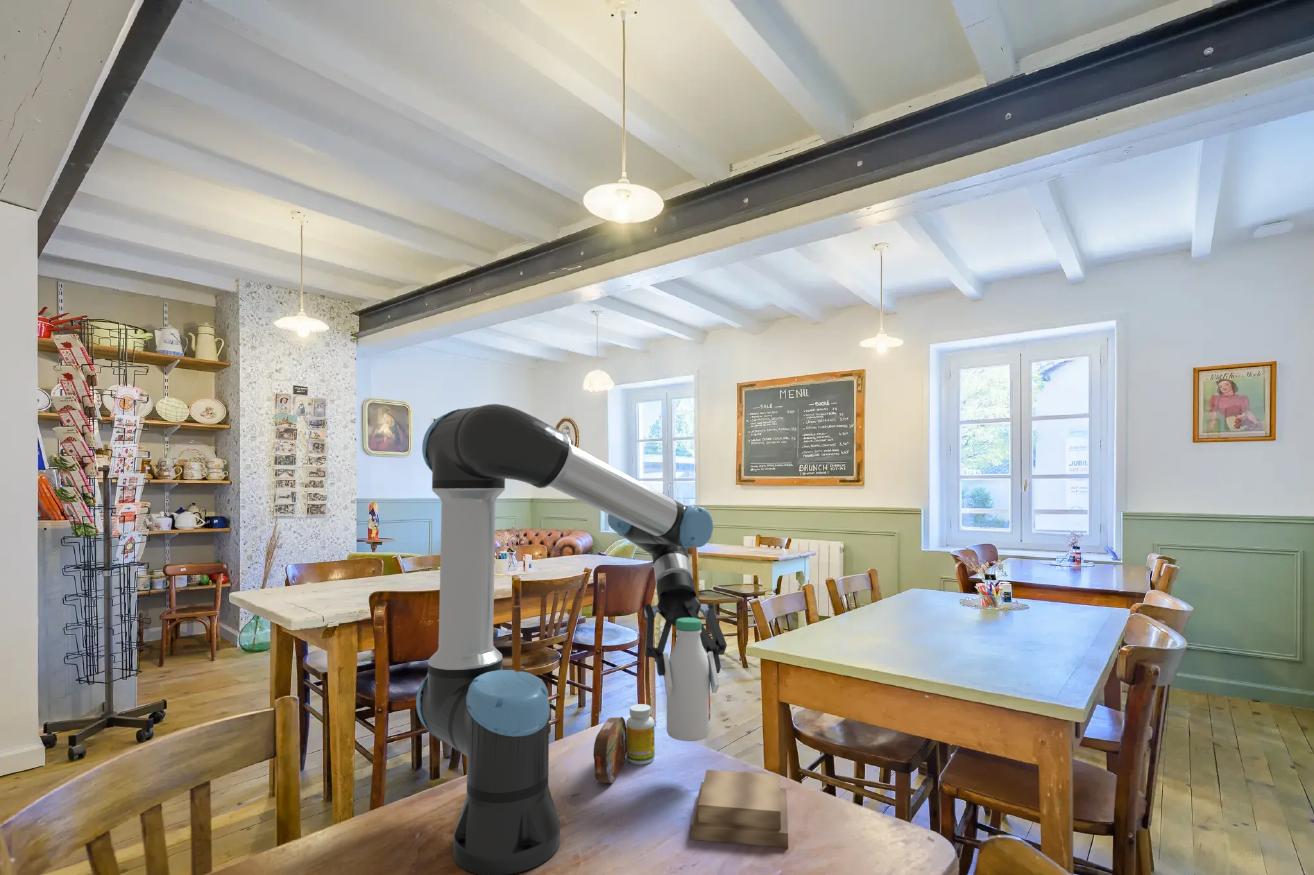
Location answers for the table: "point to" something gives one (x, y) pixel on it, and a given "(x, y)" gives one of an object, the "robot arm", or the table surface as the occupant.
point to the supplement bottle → (640, 735)
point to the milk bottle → (689, 684)
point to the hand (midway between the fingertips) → (692, 690)
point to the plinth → (742, 831)
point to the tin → (610, 750)
